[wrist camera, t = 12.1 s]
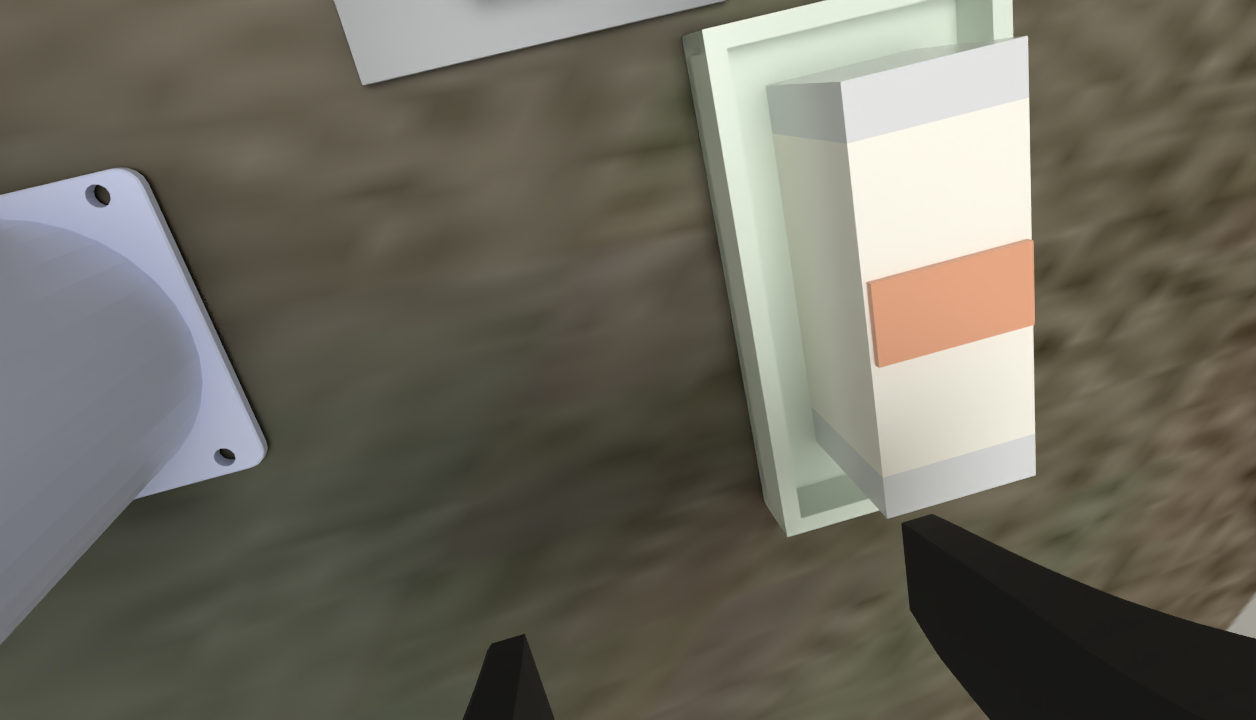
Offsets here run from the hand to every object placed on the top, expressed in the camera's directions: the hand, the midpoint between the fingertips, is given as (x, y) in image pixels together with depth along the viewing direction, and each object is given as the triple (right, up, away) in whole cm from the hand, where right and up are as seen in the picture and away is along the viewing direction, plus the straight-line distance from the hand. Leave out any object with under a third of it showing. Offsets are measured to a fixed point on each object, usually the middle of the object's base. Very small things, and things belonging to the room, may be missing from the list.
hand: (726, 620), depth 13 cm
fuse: (+5, +7, +7) cm, 11 cm away
